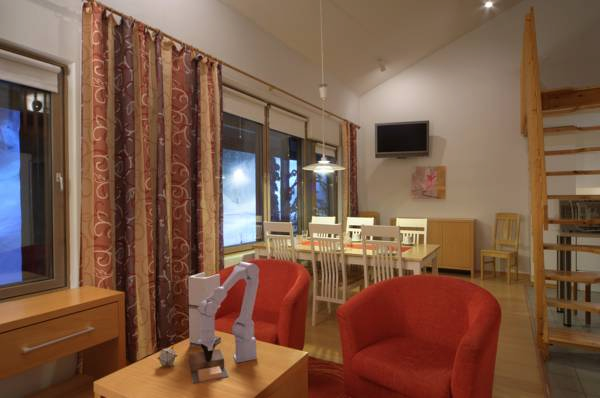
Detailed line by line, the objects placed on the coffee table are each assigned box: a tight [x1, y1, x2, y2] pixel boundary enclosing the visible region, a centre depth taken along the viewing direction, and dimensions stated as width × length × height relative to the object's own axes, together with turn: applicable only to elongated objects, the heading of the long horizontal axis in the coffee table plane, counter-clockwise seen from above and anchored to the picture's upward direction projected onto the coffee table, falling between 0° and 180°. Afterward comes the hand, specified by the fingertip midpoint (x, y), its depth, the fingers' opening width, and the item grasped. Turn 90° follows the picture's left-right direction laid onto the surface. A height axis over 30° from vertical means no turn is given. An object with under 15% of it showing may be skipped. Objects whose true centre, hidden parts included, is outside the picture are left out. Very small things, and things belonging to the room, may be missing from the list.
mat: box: [190, 366, 229, 385], centre depth 155 cm, size 14×9×1 cm, turn 112°
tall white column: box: [187, 271, 222, 350], centre depth 188 cm, size 11×11×35 cm
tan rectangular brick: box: [198, 366, 222, 381], centre depth 154 cm, size 9×6×2 cm, turn 112°
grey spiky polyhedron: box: [156, 346, 178, 369], centre depth 164 cm, size 9×8×10 cm
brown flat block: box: [188, 348, 225, 374], centre depth 164 cm, size 14×11×4 cm
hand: (208, 360), depth 158 cm, fingers closed
